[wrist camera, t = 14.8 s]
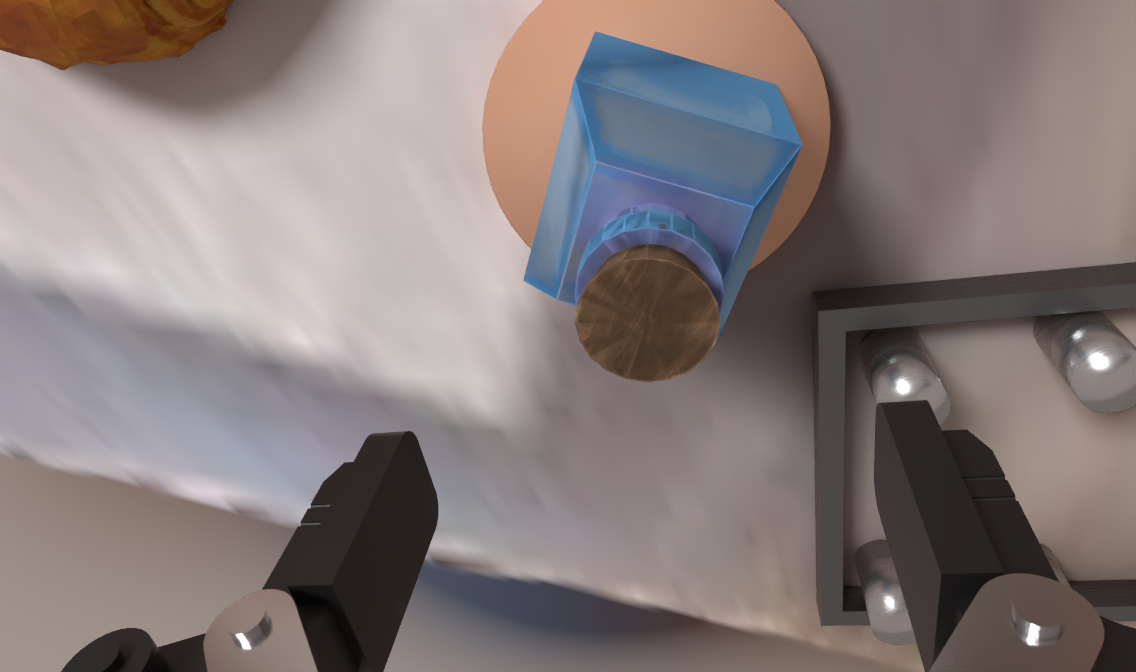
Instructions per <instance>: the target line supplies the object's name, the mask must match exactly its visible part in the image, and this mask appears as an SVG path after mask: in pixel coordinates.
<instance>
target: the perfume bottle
mask: <svg viewBox="0 0 1136 672" xmlns="http://www.w3.org/2000/svg"><path fill="white" fill-rule="evenodd" d="M801 147H802V142H801V140H800V138H799V135H798V133H797V131H796V128H795V126H794V124H793V121H792V119H791V117H790V114H789V112H788V110H787V108H786V105H785V103H784V101H783V98H782V96H781V94H780V91H779V89H778V87H777V84H773V83H770V82H766V81H763V80H760V79H756V78H753V77H749V76H746V75H743V74H739V73H736V72H732V71H729V70H725V69H722V68H719V67H715V66H712V65H708V64H705V63H702V62H698V61H695V60H691V59H688V58H685V57H681V56H678V55H674V54H671V53H668V52H664V51H661V50H657V49H654V48H651V47H647V46H644V45H640V44H637V43H634V42H630V41H627V40H623V39H620V38H617V37H613V36H610V35H606V34H603V33H600V32H596V31H595V33H594V35H593V38H592V40H591V42H590V44H589V47H588V49H587V51H586V53H585V56H584V58H583V60H582V63H581V65H580V67H579V69H578V72H577V74H576V76H575V79H574V83H573V87H572V90H571V94H570V98H569V102H568V106H567V110H566V114H565V118H564V122H563V126H562V130H561V134H560V138H559V142H558V146H557V150H556V154H555V158H554V161H553V165H552V169H551V173H550V177H549V181H548V185H547V189H546V193H545V197H544V201H543V205H542V209H541V213H540V217H539V221H538V225H537V229H536V232H535V236H534V240H533V244H532V248H531V252H530V256H529V260H528V264H527V268H526V272H525V276H524V280H523V281H525V282H527V283H528V284H530V285H532V286H534V287H535V288H537V289H539V290H540V291H542V292H544V293H546V294H547V295H549V296H551V297H552V298H554V299H556V300H558V301H562V302H566V303H569V304H573V305H576V306H577V308H576V317H575V325H576V329H577V333H578V337H579V341H580V342H581V344H582V345H583V347H584V348H585V350H586V352H587V353H588V355H589V356H590V358H592V359H593V360H594V361H595V362H597V363H598V364H599V365H600V366H601V367H603V368H604V369H605V370H606V371H609V372H611V373H613V374H616V375H618V376H620V377H623V378H625V379H630V380H637V381H644V382H652V381H661V380H669V379H672V378H674V377H677V376H679V375H682V374H684V373H687V372H689V371H690V370H691V369H693V368H694V367H695V366H697V365H698V364H699V363H700V362H702V361H703V360H704V359H705V358H706V356H707V355H708V353H709V352H710V350H711V349H712V347H713V346H714V344H715V343H716V340H717V336H720V334H721V332H722V329H723V327H724V325H725V323H726V320H727V318H728V316H729V313H730V311H731V309H732V306H733V304H734V302H735V299H736V297H737V295H738V292H739V290H740V288H741V286H742V283H743V281H744V279H745V276H746V274H747V272H748V269H749V267H750V265H751V262H752V260H753V258H754V255H755V253H756V251H757V249H758V246H759V244H760V242H761V239H762V237H763V235H764V232H765V230H766V228H767V225H768V223H769V221H770V218H771V216H772V214H773V212H774V209H775V207H776V205H777V202H778V200H779V198H780V195H781V193H782V191H783V188H784V186H785V184H786V181H787V179H788V177H789V175H790V172H791V170H792V168H793V165H794V163H795V161H796V158H797V156H798V154H799V151H800V149H801Z"/></svg>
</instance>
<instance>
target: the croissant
mask: <svg viewBox="0 0 1136 672" xmlns="http://www.w3.org/2000/svg"><path fill="white" fill-rule="evenodd" d="M232 1H233V0H0V50H3V51H6V52H9V53H13V54H16V55H19V56H23V57H28V58H33V59H38V60H41V61H43V62H45V63H47V64H50V65H52V66H54V67H56V68H59V69H61V70H65V69H67V68H68V67H70V66H73V65H76V64H80V63H83V62H88V63H93V64H97V65H101V66H105V65H109V64H113V63H118V62H139V61H152V60H159V59H163V58H166V57H179V56H181V55H182V54H184V53H186V52H187V51H189V50H191V49H192V48H193V47H194V45H195V43H196V42H198V41H199V40H201V39H202V38H204V37H206V36H207V35H209V34H210V33H212V32H215V31H217V30H219V29H221V28H222V27H223V26H224V25H225V23H226V22H227V21H226V19H225V18H224V16H225V9H226V7H227V6H229V5H230V4H231V3H232Z"/></svg>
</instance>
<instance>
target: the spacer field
mask: <svg viewBox="0 0 1136 672" xmlns="http://www.w3.org/2000/svg"><path fill="white" fill-rule="evenodd" d="M812 304H813V375H814V446H815V517H816V588H817V605H818V611H819V616H820V621H821V626H831V625H871V627H872V631H873V634H874V635H875V636H876V637H877V638H878V639H879V640H881V641H883V642H885V643H888V644H894V645H904V644H910V643H913V642H916V639H915V635H914V632H913V628H912V625H911V621H910V618H909V615H908V611H907V608H906V604H905V601H904V597H903V594H902V590H901V587H900V584H899V580H898V577H897V573H896V570H895V566H894V563H893V560H892V556H891V553H890V549H889V546H888V542H887V540H876V541H872V542H869V543H867V544H865V545H863V546H862V547H860V548H859V549H858V551H857V552H856V554H855V564H856V568H857V572H858V576H859V580H860V584H861V587H843V530H844V438H845V345H846V331H857V330H869V329H875V330H873V331H872V332H870V333H869V334H868V335H867V336H866V337H865V338H864V339H863V341H862V343H861V345H860V348H859V357H860V360H861V363H862V366H863V369H864V371H865V374H866V377H867V380H868V382H869V385H870V388H871V391H872V393H873V396H874V399H875V402H876V404H878V403H884V402H900V401H916V400H927V401H928V402H929V403H930V405H931V407H932V410H933V412H934V414H935V416H936V419H937V421H938V423H939V426H940V425H941V424H942V423H943V422H944V421H945V420H946V418H947V417H948V415H949V412H950V409H951V402H950V398H949V396H948V394H947V392H946V390H945V388H944V386H943V384H942V382H941V380H940V378H939V376H938V374H937V372H936V370H935V368H934V366H933V364H932V362H931V360H930V358H929V356H928V354H927V352H926V350H925V348H924V346H923V344H922V342H921V340H920V338H919V336H918V335H917V334H916V332H914V331H913V330H912V329H910V328H908V327H906V326H918V325H930V324H942V323H954V322H966V321H978V320H991V319H1003V318H1015V317H1027V316H1039V317H1038V318H1037V320H1036V322H1035V324H1034V330H1033V332H1034V337H1035V339H1036V341H1037V342H1038V344H1039V345H1040V347H1041V348H1042V349H1043V351H1044V352H1045V353H1046V355H1047V356H1048V357H1049V359H1050V360H1051V362H1052V363H1053V364H1054V366H1055V367H1056V368H1057V370H1058V371H1059V372H1060V374H1061V375H1062V376H1063V378H1064V379H1065V381H1066V382H1067V383H1068V385H1069V386H1070V387H1071V389H1072V390H1073V391H1074V393H1075V394H1076V395H1077V397H1078V398H1079V400H1080V401H1081V402H1082V404H1083V405H1085V406H1086V407H1087V408H1089V409H1091V410H1093V411H1096V412H1102V413H1113V412H1119V411H1123V410H1126V409H1129V408H1131V407H1133V406H1135V405H1136V347H1135V346H1134V345H1133V344H1132V343H1131V342H1130V341H1129V340H1128V339H1127V338H1126V337H1125V336H1124V334H1123V333H1122V332H1121V331H1120V330H1119V329H1118V328H1117V327H1116V326H1115V325H1114V324H1113V323H1112V321H1111V320H1110V319H1109V318H1108V317H1107V316H1106V315H1105V314H1104V313H1103V312H1102V311H1101V310H1112V309H1124V308H1136V262H1135V263H1124V264H1114V265H1103V266H1092V267H1081V268H1070V269H1059V270H1049V271H1038V272H1027V273H1016V274H1005V275H994V276H984V277H973V278H962V279H951V280H940V281H929V282H919V283H908V284H897V285H886V286H875V287H864V288H854V289H843V290H832V291H821V292H812ZM1040 545H1041V547H1042V549H1043V551H1044V553H1045V555H1046V557H1047V559H1048V561H1049V563H1050V565H1051V567H1052V569H1053V571H1054V573H1055V575H1056V577H1057V578H1058V580H1059V582H1060V583H1062V584H1064V585H1066V586H1068V587H1070V588H1071V589H1073V590H1075V591H1076V592H1078V593H1079V594H1080V595H1081V596H1083V597H1084V598H1085V599H1086V600H1087V601H1088V602H1089V603H1090V604H1091V605H1092V606H1093V607H1094V609H1095V610H1096V611H1097V613H1098V614H1099V615H1100V616H1102V617H1104V618H1106V619H1108V620H1111V621H1136V580H1111V581H1070V582H1068V581H1067V579H1066V577H1065V575H1064V573H1063V572H1062V570H1061V568H1060V566H1059V564H1058V562H1057V560H1056V559H1055V557H1054V555H1053V553H1052V551H1051V550H1050V549H1049V548H1048V547H1046V546H1044V545H1042V544H1040Z"/></svg>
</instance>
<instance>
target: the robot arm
mask: <svg viewBox="0 0 1136 672" xmlns="http://www.w3.org/2000/svg"><path fill="white" fill-rule="evenodd" d="M874 485H875V494H876V501H877V507H878V511H879V515H880V518H881V522H882V525H883V529H884V532H885V535H886V539H887V542H888V546H889V549H890V553H891V556H892V560H893V563H894V566H895V570H896V573H897V577H898V580H899V584H900V587H901V590H902V594H903V597H904V601H905V604H906V608H907V611H908V615H909V618H910V621H911V625H912V628H913V632H914V635H915V639H916V642H917V645H918V649H919V652H920V656H921V659H922V663H923V666H924V670H925V672H1136V629H1135V628H1132V627H1128V626H1124V625H1121V624H1119V623H1116V622H1113V621H1111V620H1108V619H1106V618H1104V617H1102V616H1100V615H1099V614H1098V613H1097V611H1096V610H1095V609H1094V607H1093V606H1092V605H1091V604H1090V603H1089V602H1088V601H1087V600H1086V599H1085V598H1084V597H1083V596H1081V595H1080V594H1079V593H1078V592H1076V591H1075V590H1073V589H1071V588H1070V587H1068V586H1066V585H1064V584H1062V583H1060V582H1059V580H1058V578H1057V577H1056V575H1055V573H1054V571H1053V569H1052V567H1051V565H1050V563H1049V561H1048V559H1047V557H1046V555H1045V553H1044V551H1043V549H1042V547H1041V545H1040V544H1039V542H1038V540H1037V538H1036V536H1035V534H1034V532H1033V530H1032V528H1031V526H1030V524H1029V522H1028V520H1027V518H1026V516H1025V514H1024V512H1023V510H1022V508H1021V506H1020V504H1019V502H1018V501H1016V499H1015V494H1014V492H1013V490H1012V488H1011V486H1010V485H1009V483H1008V481H1007V480H1005V475H1004V473H1003V471H1002V469H1001V467H1000V465H999V463H998V461H997V459H996V457H995V455H994V453H993V451H992V450H991V449H990V448H989V447H987V446H986V445H985V444H984V443H983V442H981V441H980V440H979V439H978V438H977V437H975V436H974V435H973V434H972V433H970V432H969V431H968V430H967V429H966V430H948V431H942V430H941V428H940V426H939V423H938V421H937V419H936V416H935V414H934V412H933V410H932V407H931V405H930V403H929V402H928V401H927V400H916V401H900V402H884V403H878V404H877V408H876V425H875V458H874ZM437 520H438V499H437V494H436V491H435V488H434V485H433V482H432V479H431V477H430V474H429V471H428V468H427V465H426V462H425V459H424V456H423V454H422V451H421V448H420V445H419V442H418V440H417V437H416V436H415V434H414V433H413V432H411V431H404V432H388V433H373V434H370V435H369V436H368V437H367V438H366V440H365V442H364V444H363V446H362V447H361V449H360V451H359V453H358V455H357V457H356V459H355V460H354V462H346V463H343V464H342V465H341V466H340V467H339V468H338V469H337V470H336V471H335V472H334V473H333V474H332V475H331V476H330V477H328V478H327V479H326V480H325V481H324V482H323V484H322V485H321V487H320V489H319V491H318V492H317V494H316V496H315V498H314V499H313V501H312V503H311V509H308V510H307V512H306V513H305V515H304V517H303V519H302V520H301V526H300V527H297V529H296V531H295V533H294V535H293V536H292V538H291V540H290V542H289V543H288V545H287V547H286V549H285V551H284V552H283V554H282V556H281V558H280V559H279V561H278V563H277V564H276V566H275V568H274V570H273V572H272V573H271V575H270V577H269V578H268V580H267V582H266V584H265V586H264V587H263V589H262V590H260V591H256V592H253V593H250V594H248V595H245V596H243V597H241V598H240V599H238V600H236V601H234V602H233V603H232V604H230V605H229V606H227V607H226V608H225V609H224V610H223V611H222V612H221V613H220V614H219V615H218V616H217V617H216V618H215V619H214V621H213V622H212V623H211V625H210V627H209V628H208V630H207V632H206V633H205V634H202V635H198V636H195V637H192V638H188V639H185V640H182V641H178V642H175V643H171V644H168V645H164V646H161V647H157V646H156V644H155V643H154V641H153V640H152V638H151V637H150V636H149V635H148V633H146V632H145V631H143V630H141V629H137V628H126V629H120V630H117V631H113V632H111V633H108V634H106V635H104V636H102V637H100V638H98V639H96V640H94V641H93V642H91V643H90V644H88V645H87V646H86V647H84V648H83V649H82V650H80V651H79V652H78V653H77V654H76V655H75V656H74V657H73V658H72V659H71V660H70V661H69V662H68V663H67V664H66V666H65V667H64V668H63V670H62V671H61V672H383V671H384V668H385V666H386V663H387V660H388V657H389V654H390V652H391V649H392V646H393V643H394V641H395V638H396V636H397V633H398V630H399V627H400V625H401V621H402V619H403V616H404V613H405V611H406V608H407V605H408V603H409V600H410V597H411V595H412V592H413V589H414V586H415V584H416V581H417V578H418V575H419V572H420V570H421V567H422V564H423V562H424V559H425V556H426V554H427V551H428V548H429V545H430V543H431V540H432V537H433V534H434V532H435V529H436V526H437Z"/></svg>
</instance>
